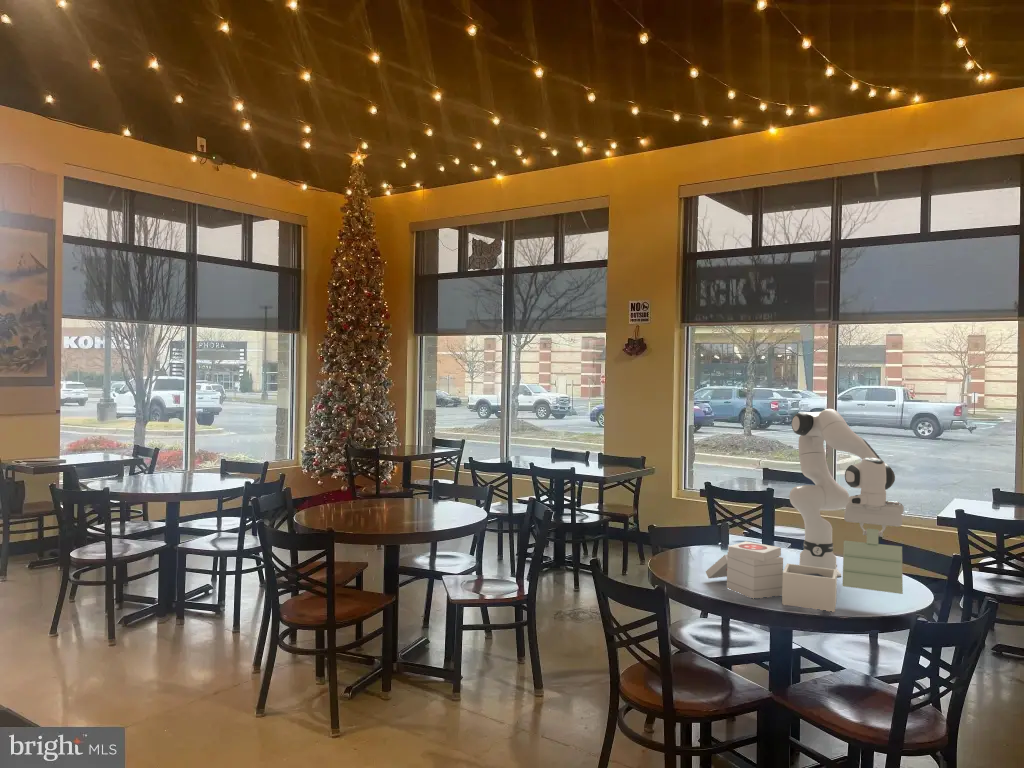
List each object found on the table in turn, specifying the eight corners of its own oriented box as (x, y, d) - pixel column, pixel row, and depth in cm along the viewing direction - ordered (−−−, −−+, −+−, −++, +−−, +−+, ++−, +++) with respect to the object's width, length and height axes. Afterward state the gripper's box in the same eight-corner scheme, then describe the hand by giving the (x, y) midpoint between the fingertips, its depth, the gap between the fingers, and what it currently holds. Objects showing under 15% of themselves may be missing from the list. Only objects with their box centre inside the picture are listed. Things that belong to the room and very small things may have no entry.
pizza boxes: (736, 577, 303) (737, 535, 304) (790, 596, 276) (791, 550, 276) (700, 581, 296) (701, 538, 296) (752, 601, 268) (753, 553, 268)
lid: (844, 529, 281) (844, 526, 278) (901, 535, 272) (902, 531, 269) (842, 587, 270) (842, 584, 267) (902, 595, 261) (902, 592, 258)
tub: (786, 593, 280) (787, 563, 280) (836, 600, 271) (837, 569, 272) (782, 604, 265) (782, 572, 265) (834, 612, 257) (835, 579, 257)
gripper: (903, 501, 273) (902, 537, 272) (844, 496, 282) (844, 531, 282) (904, 503, 267) (903, 540, 267) (844, 498, 276) (843, 534, 276)
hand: (872, 535), depth 274 cm, fingers closed on lid, 4 cm apart
